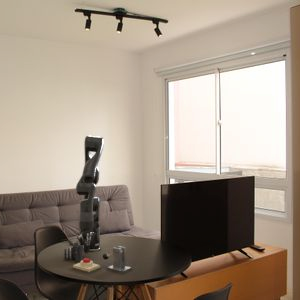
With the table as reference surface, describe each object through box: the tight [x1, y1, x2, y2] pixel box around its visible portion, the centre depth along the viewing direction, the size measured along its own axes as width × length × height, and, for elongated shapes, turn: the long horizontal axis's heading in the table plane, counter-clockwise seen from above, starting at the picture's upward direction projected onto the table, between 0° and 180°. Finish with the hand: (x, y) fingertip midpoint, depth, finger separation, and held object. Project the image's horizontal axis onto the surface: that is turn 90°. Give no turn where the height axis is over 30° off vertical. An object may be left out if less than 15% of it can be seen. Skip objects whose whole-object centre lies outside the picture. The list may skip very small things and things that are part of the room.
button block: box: [72, 259, 101, 273], centre depth 204 cm, size 11×9×4 cm
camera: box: [63, 240, 84, 262], centre depth 222 cm, size 14×11×10 cm
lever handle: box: [102, 248, 123, 261], centre depth 206 cm, size 13×3×3 cm, turn 49°
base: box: [106, 245, 132, 273], centre depth 203 cm, size 10×8×12 cm
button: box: [82, 257, 91, 263], centre depth 204 cm, size 4×4×2 cm
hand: (86, 252), depth 204 cm, fingers closed
